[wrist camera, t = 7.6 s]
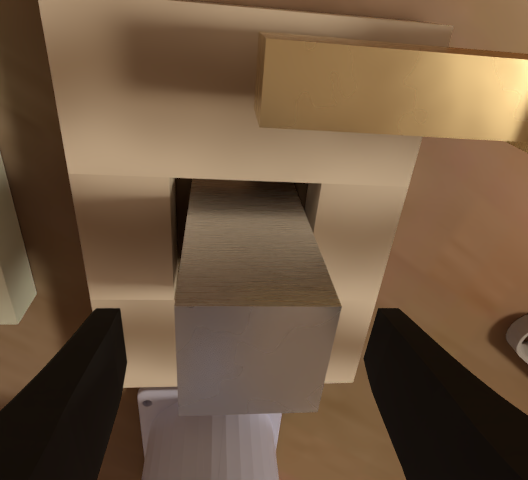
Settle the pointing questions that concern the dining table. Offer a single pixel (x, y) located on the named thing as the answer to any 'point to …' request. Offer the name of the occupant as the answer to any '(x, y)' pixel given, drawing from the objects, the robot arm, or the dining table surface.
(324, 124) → the tan headed bar
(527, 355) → the adjustable wrench
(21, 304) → the cream square hole plate
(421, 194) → the dining table surface
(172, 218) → the socket block
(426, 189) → the dining table surface
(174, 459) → the robot arm
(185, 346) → the peg
